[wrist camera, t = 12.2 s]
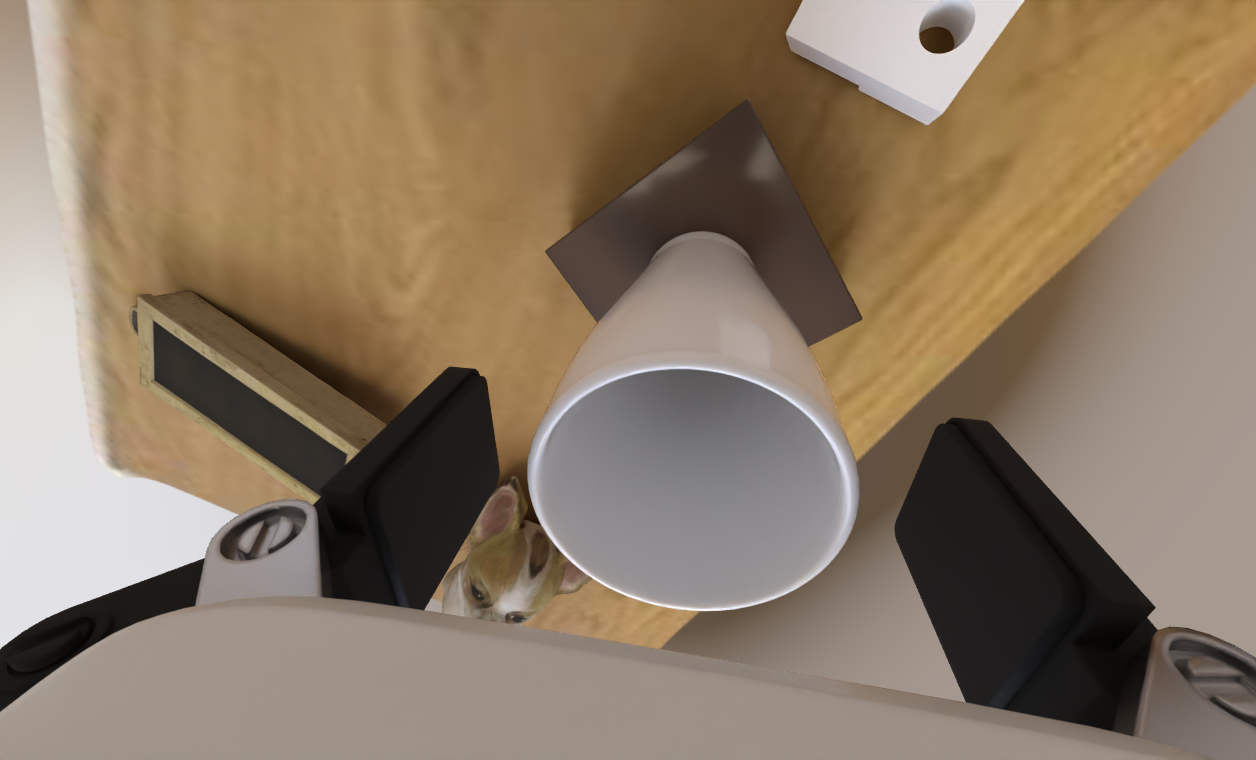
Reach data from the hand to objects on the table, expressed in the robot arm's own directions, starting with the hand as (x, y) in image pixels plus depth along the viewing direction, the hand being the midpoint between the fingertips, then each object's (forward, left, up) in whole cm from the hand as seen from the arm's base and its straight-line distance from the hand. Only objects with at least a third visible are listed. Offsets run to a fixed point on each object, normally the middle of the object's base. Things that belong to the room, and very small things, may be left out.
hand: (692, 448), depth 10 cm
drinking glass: (0, 0, -14) cm, 14 cm away
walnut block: (0, 0, -19) cm, 19 cm away
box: (+33, -3, -19) cm, 38 cm away
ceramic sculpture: (+22, +17, -19) cm, 34 cm away
